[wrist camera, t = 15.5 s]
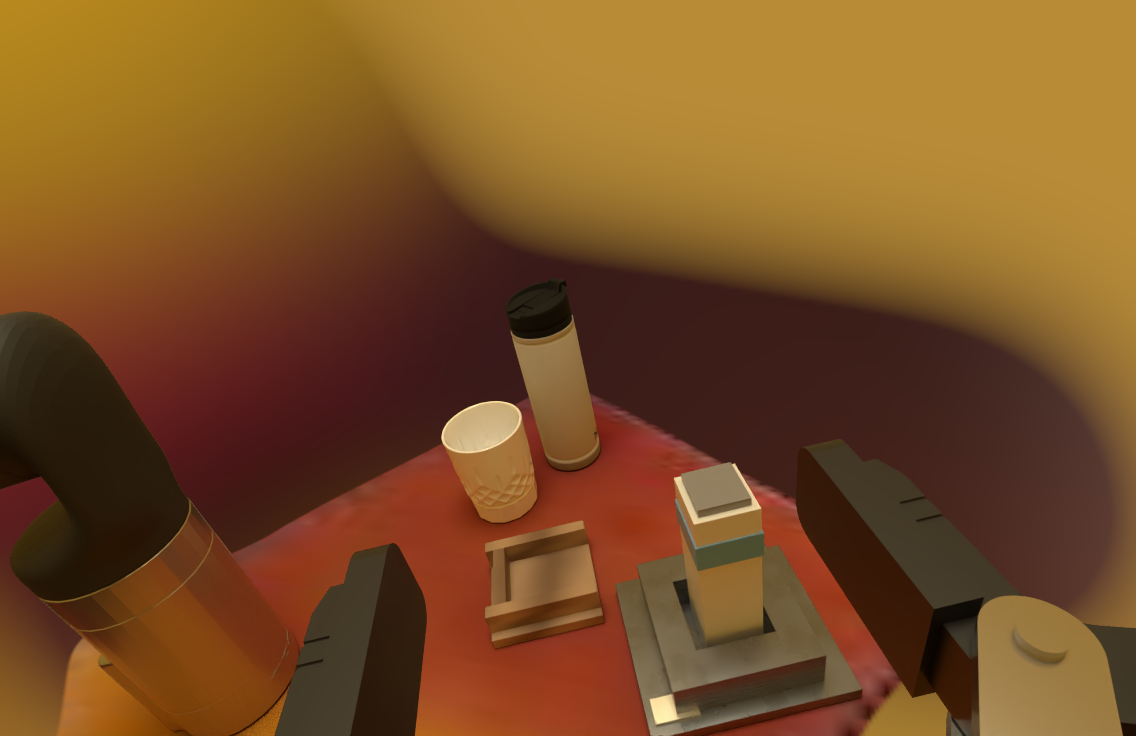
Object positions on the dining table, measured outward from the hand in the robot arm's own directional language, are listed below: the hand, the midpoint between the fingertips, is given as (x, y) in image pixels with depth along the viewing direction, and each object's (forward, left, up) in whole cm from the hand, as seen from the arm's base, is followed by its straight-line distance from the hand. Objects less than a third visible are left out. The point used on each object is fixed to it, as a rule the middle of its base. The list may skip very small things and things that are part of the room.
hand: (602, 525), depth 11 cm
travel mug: (-1, +41, -32) cm, 52 cm away
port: (+7, +16, -32) cm, 36 cm away
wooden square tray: (-6, +24, -32) cm, 41 cm away
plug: (+7, +16, -31) cm, 36 cm away
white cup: (-9, +36, -32) cm, 49 cm away
